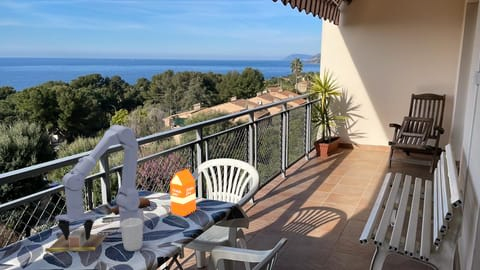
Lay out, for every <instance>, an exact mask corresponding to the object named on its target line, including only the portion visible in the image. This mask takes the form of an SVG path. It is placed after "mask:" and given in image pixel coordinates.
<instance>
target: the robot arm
mask: <svg viewBox="0 0 480 270" xmlns="http://www.w3.org/2000/svg"><path fill="white" fill-rule="evenodd" d="M117 145H120V146H121V147H123V163H122V175H121V186H120V187H119V188H118V189H117V190H118V191H117V193H116V196H115V203H116V205H117V206H118V205H119V214H118V215H119V228H118V229H117V233H122V232H121V222H122V221H124V220H126V219H130V218H139V219H142V221H143V228H144V227H145V225H146V224H145V216H144V215H145V214H144V209H143V208H140V207H139V204H140V200H139V199H140V198H139V190H138V189H137V187H136V181H137V168H138V156H139V155H138V153H139V143H138V140H137V137H136V132H135V131H134V129H132V128H131V127H129V126H124V125H119V124H113V125H111V126H110V127H109V128H108V129H107V130H106V131H105V132H104V135H103V136H102V137H101V139H100V140H99V142H97V144H96V145H95V147H94V148H93V149H92V151H91V152H90V153H89V154H88V155H85V156H83V157H80V158H78V163H76V165H75V166H74V167H73V168H72V169H70V170H69V172H68V173H66V174H65V175H63V176H62V180H61V185H62V186H63V187H64V190H65V192H64V193H65V194H64V195H65V203H66V204H65V205H66V214H58V215H56V216H55V217H54V219H55V223H57V227H58V229H60V231H61V232H62V235H64V237H65V239H66V240H68V239H69V237H68V236H69V235H70V234H71V230H70V223H75V222H84V223H83V225H82V226H83V229H85V236H86V240H88V239H89V238H90V234H91V232H92V229H93V225H94V223H95V222H96V221H97V214H90V213H85V210H84V209H85V208H84V197H83V196H84V195H83V187H84V185H85V180H86V179H87V177H88V176H89V175H90V174H91V173H92V171H93V170H94V169H95V168H96V167H97V162H98V161H97V160H99V159H100V158H101V156H103V155H104V153H105V152H107V150H109V148H110V147H112V146H117ZM138 207H139V208H138Z"/></svg>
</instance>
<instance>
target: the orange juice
mask: <svg viewBox="0 0 480 270" xmlns="http://www.w3.org/2000/svg"><path fill="white" fill-rule="evenodd" d="M169 183H170V184H169V185H170V187H169V188H170V209H171V211H170V212H171V214H173V215H177V216H180V217H185V216H187V215H190V214H192V213H194V212H195V210H197V207H196V204H197V203H196V198H197V197H196V181H195V179H194V177H193V175H192V173H191V171H190V170H189V168H187V169H186V168H185V169H183V170H180V171H178V172H175V174H174V176H173V177H172V179H171V180H170V182H169ZM193 211H194V212H193ZM191 212H192V213H191Z"/></svg>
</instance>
